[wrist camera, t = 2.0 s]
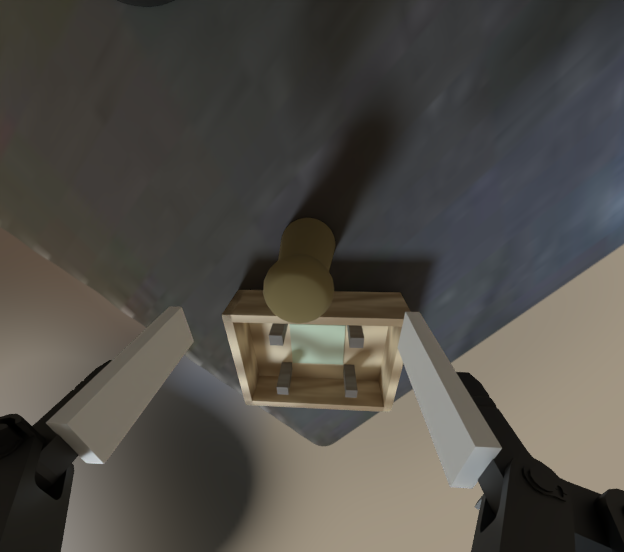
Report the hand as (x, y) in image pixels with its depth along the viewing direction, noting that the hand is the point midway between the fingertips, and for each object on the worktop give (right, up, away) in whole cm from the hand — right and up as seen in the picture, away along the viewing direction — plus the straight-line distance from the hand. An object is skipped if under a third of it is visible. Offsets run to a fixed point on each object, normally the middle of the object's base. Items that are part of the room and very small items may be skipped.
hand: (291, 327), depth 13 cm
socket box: (+2, -6, +18) cm, 19 cm away
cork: (+1, +7, +11) cm, 13 cm away
